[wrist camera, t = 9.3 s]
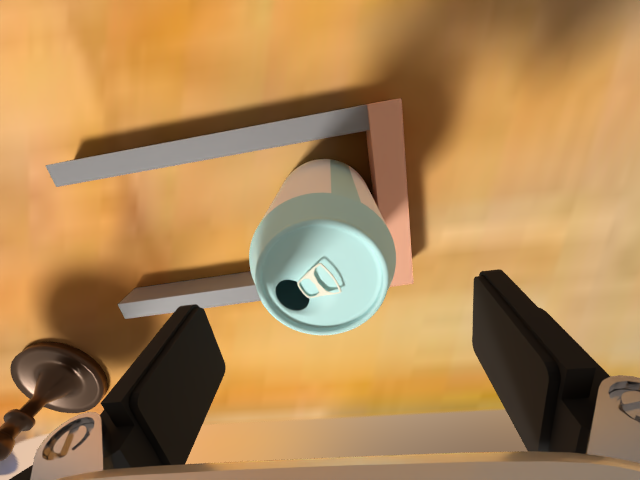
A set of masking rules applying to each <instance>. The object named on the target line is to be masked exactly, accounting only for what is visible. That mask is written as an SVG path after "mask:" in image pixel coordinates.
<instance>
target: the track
mask: <svg viewBox="0 0 640 480" xmlns="http://www.w3.org/2000/svg"><path fill="white" fill-rule="evenodd" d="M362 131H366V138H367V147H368V156H369V165H370V174H371V183H372V192H373V199H374V201H375V203H376V205H377V207H378V209H379V211H380V213H381V215H382V217H383V219H384V221H385V223H386V225H387V227H388V229H389V231H390V233H391V236H392V238H393V241H394V245H395V250H396V267H395V273H394V276H393V280H392V282H391V285H390V287H392V286H399V285H407V284H413V269H412V253H411V238H410V222H409V207H408V192H407V176H406V161H405V145H404V130H403V114H402V99H401V98H400V99H392V100H386V101H381V102H376V103H370V104H365V105H360V106H355V107H349V108H344V109H339V110H333V111H328V112H323V113H318V114H312V115H307V116H302V117H297V118H291V119H286V120H281V121H275V122H270V123H265V124H260V125H254V126H249V127H244V128H238V129H233V130H228V131H223V132H217V133H212V134H207V135H202V136H196V137H191V138H186V139H180V140H175V141H170V142H165V143H159V144H154V145H149V146H144V147H138V148H133V149H128V150H122V151H117V152H112V153H107V154H101V155H96V156H91V157H85V158H80V159H75V160H70V161H65V162H60V163H55V164H51V165H46V168H47V170H48V171H49V173H50V175H51V177H52V179H53V181H54V183H55V185H56V187H59V186H64V185H70V184H75V183H81V182H86V181H92V180H97V179H103V178H108V177H114V176H119V175H125V174H130V173H136V172H141V171H147V170H152V169H158V168H164V167H169V166H175V165H180V164H186V163H191V162H197V161H202V160H208V159H213V158H219V157H224V156H230V155H235V154H241V153H246V152H252V151H257V150H263V149H268V148H274V147H279V146H285V145H290V144H296V143H301V142H307V141H312V140H318V139H323V138H329V137H334V136H340V135H345V134H351V133H356V132H362ZM254 301H261V299H260V297H259V295H258V292H257V289H256V285H255V283H254V280H253V278H252V274H251V271H249V272H242V273H235V274H228V275H222V276H215V277H208V278H201V279H194V280H187V281H180V282H173V283H166V284H159V285H152V286H146V287H139V288H134V289H133V290H132V291H131V292H130V293H129V294H128V295H127V296H126V297H125V298H124V299H123V300H122V301H121V302H120V303H118V306H119V308H120V310H121V312H122V314H123V316H124V318H125V319H128V318H136V317H143V316H151V315H158V314H165V313H173V312H175V311H176V310H177V308H178V307H180V306H184V305H193V304H197V305H198V306H199V307H200V308H210V307H217V306H225V305H232V304H239V303H247V302H254Z"/></svg>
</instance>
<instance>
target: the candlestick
mask: <svg viewBox="0 0 640 480" xmlns="http://www.w3.org/2000/svg"><path fill="white" fill-rule="evenodd" d="M11 375H12V378H13V381H14V382H15V384H16V386H17V387H18V388H19V389H20V390H21V392H22V393H24V394H25V395H26V396H27V397H28V398H30V400H29V401H28V402H27V403H26V404H25V405H24V406H23V407H22V408H21V409H20V410H18V409H14V410H10V411H9V412H8V413H7V414H5V416H4V421H5V423H4V424H3V425H2V426H1V427H0V461H2V460H4V459H6V458H7V457H8V456H9V455H10V454H11V452H12V450H13V447H14V445H15V440H14V439H15V438H16V436H17V435H18V434H19V433H20V432H21V431H28V430H30V429H31V428H32V427H33V426H34V425H35V419H34V418H33V417H34V416H35V415H36V414H37V413H38V412H39V411H40V410H41V409H42V408H43V407H46V408H49V409H51V410H55V411H59V412H65V413H79V412H85V411H87V410H90V409H92V408H93V407H95V406H96V405H97V404H98V403H99V402H100V400H101V399H102V398H103V396H104V395H105V393H106V391H107V386H108V383H107V378H106V375H105V373H104V371H103V370H102V368H101V367H100V365H99V364H98V363H97V362H96V361H95V360H94V359H92V358H91V357H90V356H89V355H87V354H86V353H84V352H82V351H80V350H79V349H76V348H74V347H72V346H69V345H66V344H62V343H56V342H40V343H35V344H33V345H30V346H28V347H27V348H26V349H24V350H23V351H22V352H21V353H19V354H18V355H17V356H16V357H15V358H14V359H13V361H12V364H11Z"/></svg>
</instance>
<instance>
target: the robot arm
mask: <svg viewBox="0 0 640 480" xmlns="http://www.w3.org/2000/svg"><path fill="white" fill-rule="evenodd" d="M472 343H473V348H474V351H475V354H476V356H477V357H478V359H479V361H480V363H481V365H482V367H483V369H484V370H485V372H486V374H487V376H488V378H489V380H490V382H491V383H492V385H493V387H494V389H495V391H496V393H497V395H498V396H499V398H500V400H501V402H502V404H503V406H504V408H505V409H506V411H507V413H508V415H509V417H510V419H511V420H512V422H513V424H514V426H515V428H516V430H517V432H518V433H519V435H520V437H521V439H522V441H523V443H524V445H525V447H526V448H527V450H528V451H527V452H477V453H445V454H444V453H442V454H415V455H388V456H361V457H337V458H314V459H290V460H267V461H246V462H224V463H204V464H185V463H186V461H187V458H188V456H189V454H190V452H191V449H192V447H193V445H194V442H195V440H196V438H197V435H198V433H199V431H200V428H201V426H202V424H203V422H204V419H205V417H206V415H207V413H208V410H209V408H210V406H211V403H212V401H213V399H214V397H215V394H216V392H217V390H218V387H219V385H220V383H221V381H222V378H223V376H224V373H225V362H224V360H223V357H222V355H221V352H220V349H219V347H218V344H217V342H216V339H215V337H214V334H213V331H212V329H211V326H210V324H209V321H208V319H207V316H206V313H205V311H204V309H203V308H200V307H199V306H198V305H197V304H193V305H184V306H180V307H178V308H177V310H176V311H175V312H174V313H173V315H172V316H171V317H170V318H169V319H168V321H167V322H166V323H165V324H164V326H163V327H162V328H161V329H160V331H159V332H158V333H157V334H156V336H155V337H154V338H153V339H152V340H151V342H150V343H149V344H148V345H147V347H146V348H145V349H144V350H143V352H142V353H141V354H140V355H139V357H138V358H137V359H136V360H135V362H134V363H133V364H132V365H131V366H130V368H129V369H128V370H127V371H126V373H125V374H124V375H123V376H122V378H121V379H120V380H119V381H118V383H117V384H116V385H115V386H114V387H113V389H112V390H111V391H110V392H109V394H108V395H107V396H106V397H105V399H104V400H103V401H102V402H101V404H102V406H103V408H104V411H103V412H102V413H101V415H99V414H97V413H96V412H87V413H83V414H80V415H77V416H75V417H73V418H71V419H69V420H68V421H66V422H64V423H63V424H61V425H60V426H59V427H57V428H56V429H55V430H54V431H52V432H51V433H50V434H49V435H48V436H47V438H46V439H45V440H44V441H43V442H42V444H41V445H40V446H39V448H38V449H37V452H36V455H35V457H34V462H33V465H32V466H30V467H29V468H27V469H25V470H24V471H22V472H21V473H19V474H17V475H16V476H14V477H13V478H11V479H9V480H640V378H637V377H633V376H622V375H619V376H612V377H610V376H609V375H608V374H607V373H606V372H605V371H604V370H603V369H602V368H601V367H600V366H599V365H598V364H597V363H596V362H595V361H594V360H593V359H592V358H591V357H590V356H589V355H588V354H587V353H586V352H585V351H584V350H583V349H582V347H581V346H580V345H579V344H578V343H577V342H576V341H575V340H574V339H573V338H572V337H571V336H570V335H569V334H568V333H567V332H566V331H565V330H564V329H563V328H562V327H561V326H560V325H559V324H558V323H557V322H556V321H555V320H554V319H553V318H552V317H551V316H550V315H549V314H548V313H547V312H546V311H544V310H543V309H541V308H538V307H537V306H536V305H535V304H534V303H533V302H532V301H531V300H530V299H529V298H528V297H527V296H526V294H525V293H524V292H523V291H522V290H521V289H520V288H519V287H518V286H517V285H516V284H515V283H514V282H513V281H512V280H511V279H510V278H509V277H508V276H507V275H506V274H505V273H504V272H503V271H502V270H491V271H482V272H480V274H479V276H478V277H475V278H474V295H473V337H472Z"/></svg>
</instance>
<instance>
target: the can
mask: <svg viewBox="0 0 640 480" xmlns="http://www.w3.org/2000/svg"><path fill="white" fill-rule="evenodd" d="M249 263H250V270H251V274H252V278H253V280H254V283H255V285H256V289H257V292H258V295H259V297H260V299H261V302H262V303H263V305H264V306H265V308H266V309H267V310H268V312H269V313H270V314H271V315H272V316H273V317H274V318H276V319H277V320H278V321H279V322H281V323H282V324H284V325H286V326H287V327H289V328H291V329H294V330H296V331H299V332H303V333H307V334H313V335H333V334H339V333H343V332H346V331H349V330H351V329H354V328H356V327H358V326H360V325H361V324H363V323H364V322H366V321H367V320H368V319H369V318H371V317H372V316H373V315H374V314H375V312H376V311H377V310H378V309H379V307H380V306H381V304H382V302H383V301H384V298H385V296H386V293H387V290H388V289H389V287H390V285H391V282H392V280H393V276H394V273H395V267H396V250H395V245H394V241H393V238H392V236H391V233H390V231H389V229H388V227H387V225H386V223H385V221H384V219H383V217H382V215H381V213H380V211H379V209H378V207H377V205H376V203H375V201H374V199H373V197H372V195H371V193H370V191H369V189H368V187H367V185H366V183H365V181H364V180H363V178H362V177H361V176H360V174H359V173H358V172H357V171H356V170H354V169H353V168H352V167H350V166H349V165H347V164H345V163H343V162H340V161H337V160H332V159H317V160H312V161H309V162H306V163H304V164H302V165H301V166H299V167H297V168H296V169H295V170H294V171H293V172H291V173H290V175H289V176H288V177H287V178H286V180H285V181H284V183H283V185H282V187H281V188H280V190H279V192H278V193H277V195H276V197H275V198H274V200H273V202H272V204H271V205H270V207H269V209H268V210H267V212H266V214H265V215H264V217H263V219H262V220H261V222H260V224H259V226H258V227H257V229H256V231H255V233H254V235H253V238H252V241H251V245H250V252H249Z"/></svg>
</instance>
